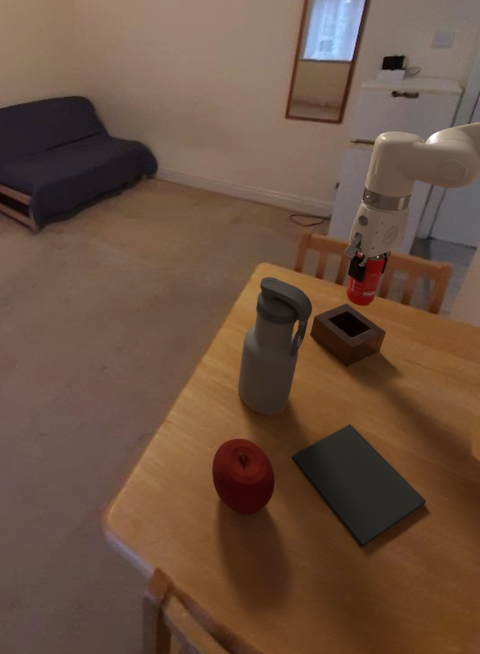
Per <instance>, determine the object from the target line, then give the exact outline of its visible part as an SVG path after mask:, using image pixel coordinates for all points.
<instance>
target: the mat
mask: <svg viewBox="0 0 480 654" xmlns="http://www.w3.org/2000/svg"><path fill="white" fill-rule="evenodd" d="M291 461H292V462H293V463H294V464H295V465H296V467H297V468H298V469H299V471H300V472H301V473H302V474H303V476H304V477H305V478H306V479H307V481H308V482H309V483H310V485H311V486H312V487H313V489H314V490H315V491H316V492H317V493H318V495H319V496H320V497H321V499H322V500H323V501H324V503H326V505H327V506H328V508H329V509H330V510H331V511H332V513H333V514H334V516H336V518H337V519H338V521H339V522H340V523H341V524H342V526H343V527H344V529H346V530H347V532H348V533H349V534H350V535H351V537H352V538H353V540H354V541H355V542H356V543H357V544H358V546H359V547H360V548H362V549H363V548H364V547H366V545H368V544H369V543H371V542H372V541H374V540H375V539H377V538H378V537H380V536H381V535H383V534H384V533H385V532H387V531H388V530H390V529H391V528H392V527H394V526H396V525H397V524H398V523H400V522H402V521H403V520H404V519H406V518H407V517H408V516H410V515H412V514H413V513H415V512H416V511H417V510H419V509H420V508H421V507H423V506H424V505H425V504H426V503H427V500H426V499H425V498H424V497H423V496H422V495H421V494H420V493H419V492H418V491H417V490H416V489H415V488H414V487H413V486H412V485H411V484H410V483H409V482H408V481H407V480H406V479H405V477H403V476H402V475H401V473H399V472H398V471H397V470H396V469H395V468H394V467H393V466H392V465H391V463H389V462H388V461H387V460H386V459H385V458H384V457H383V455H381V453H379V451H378V450H376V448H375V447H374V446H373V445H372V444H371V443H370V442H369V441H368V440H367V439H366V438H365V437H363V435H361V433H360V432H359V431H358V430H357V429H356V428H355V427H354V426H353V425H351V424H350V423H349V424H348V425H346V426H344V427H342V428H340V429H338V430H337V431H335V432H332V433H331V434H329V435H327V436H326V437H324V438H322V439H320V440H318V441H316V442H314V443H312V444H310V445H309V446H307V447H304V448H303V449H301V450H298V452H296V453H294V454H292V456H291Z"/></svg>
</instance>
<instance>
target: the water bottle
mask: <svg viewBox="0 0 480 654" xmlns="http://www.w3.org/2000/svg"><path fill="white" fill-rule="evenodd" d="M259 286H260V292H259V293H258V295H257V299H256V300H257V301H256V306H255V310H256V311H255V313H256V317H255V324H254V325H253V326H252V327H250V328H249V329H248V330H247V331H246V333H245V335H244V338H243V344H242V352H241V358H240V359H241V360H240V368H239V373H238V375H239V376H238V382H237V391H238V395H239V397H240V399H241V400H242V402H243V403H244V405H246V407H248V408H249V409H250V410H252V411H253V412H256V413H258V414H260V415H266V416H270V415H272V416H273V415H277V414H279V413H281V412H283V411H284V410H285V409H286V407H287V406H288V402H289V399H290V394H291V389H292V384H293V381H294V376H295V371H296V367H297V362H298V357H299V350H300V347H301V346H302V344H303V341H304V339H305V336H306V331H307V328H308V323H309V319H310V317H311V315H312V312H313V304H312V302H311V299H310V298H309V297H308V295H307V294H306V293H305V292H304V291H303V290H302V289H300V288H298V287H297V286H295V285H293V284H290V283H288V282H285V281H282V280H280V279H278V278H275V277H272V276H266V277H263V278H262V279H261V280H260V285H259ZM297 321H298V326H297V331H296V332H295V334H294V336H293V333H294V328H295V324H296V323H297Z"/></svg>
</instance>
